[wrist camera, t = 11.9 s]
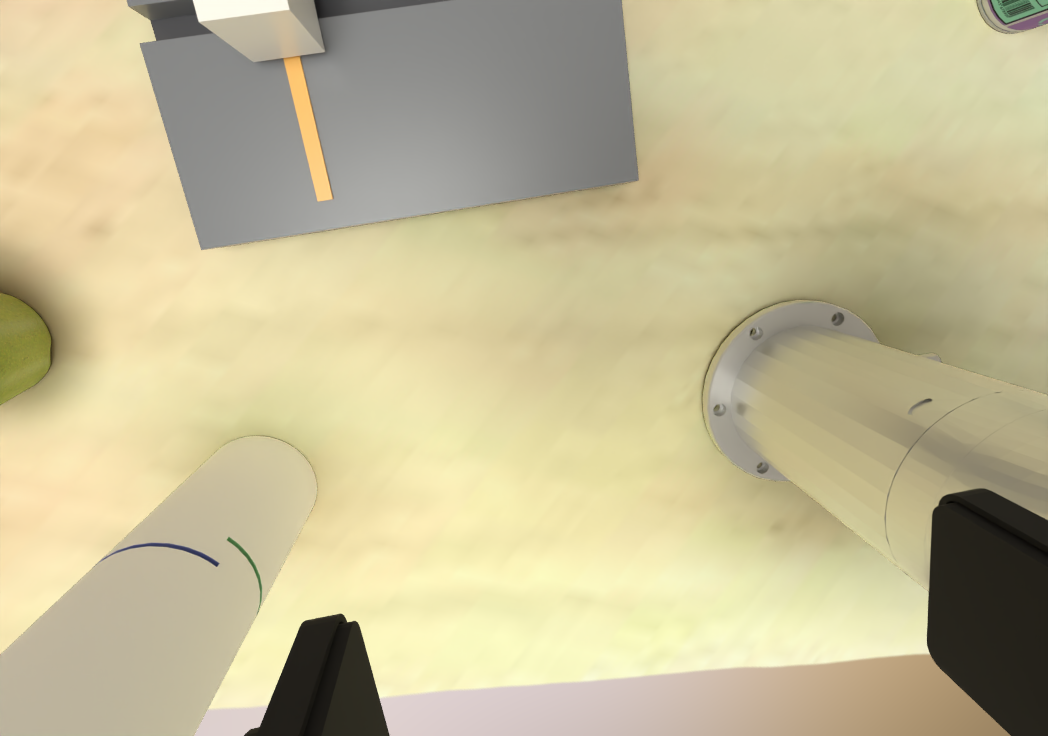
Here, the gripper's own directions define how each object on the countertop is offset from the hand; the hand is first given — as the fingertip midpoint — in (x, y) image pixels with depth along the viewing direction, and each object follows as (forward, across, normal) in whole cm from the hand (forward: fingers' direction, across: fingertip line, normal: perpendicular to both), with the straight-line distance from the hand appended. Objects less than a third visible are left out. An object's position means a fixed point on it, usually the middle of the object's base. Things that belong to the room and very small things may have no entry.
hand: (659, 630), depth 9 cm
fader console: (+28, +4, -18) cm, 34 cm away
